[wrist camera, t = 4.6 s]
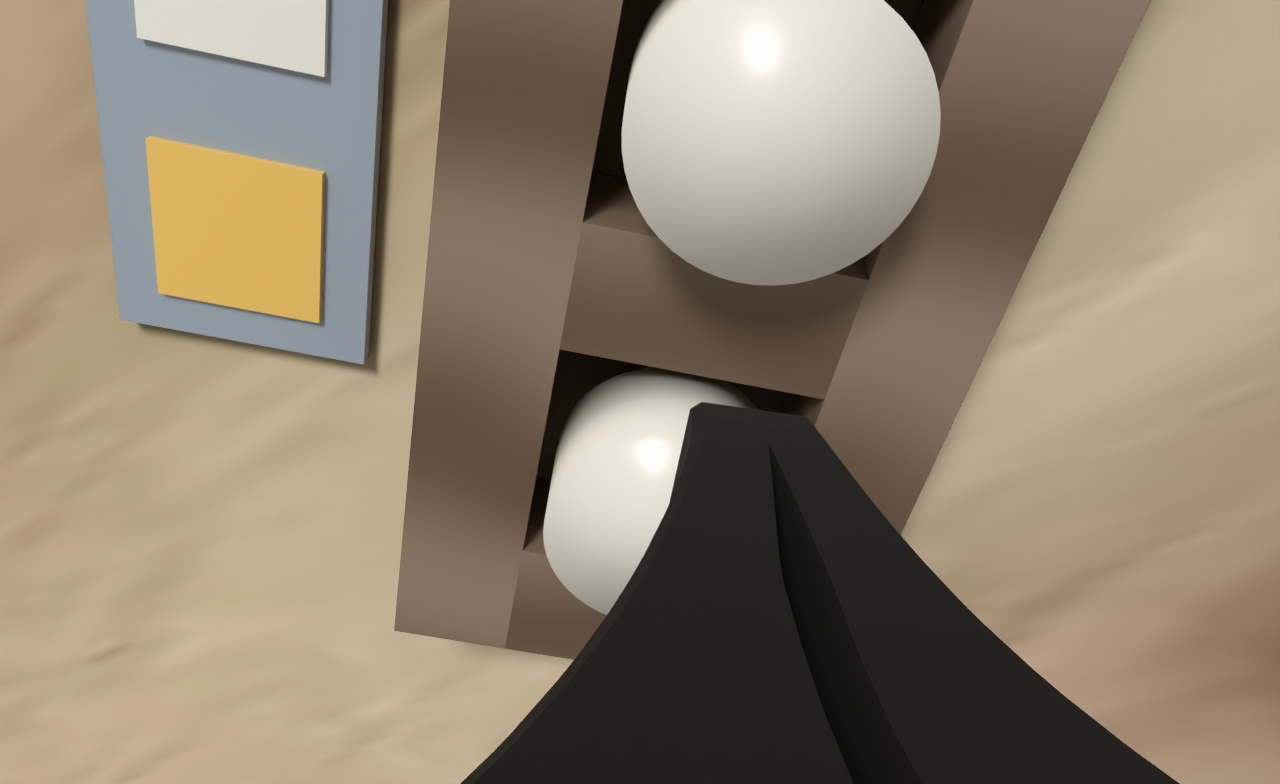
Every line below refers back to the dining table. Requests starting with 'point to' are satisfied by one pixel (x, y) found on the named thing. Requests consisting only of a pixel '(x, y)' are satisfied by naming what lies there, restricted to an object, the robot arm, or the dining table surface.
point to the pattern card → (243, 165)
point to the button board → (702, 284)
